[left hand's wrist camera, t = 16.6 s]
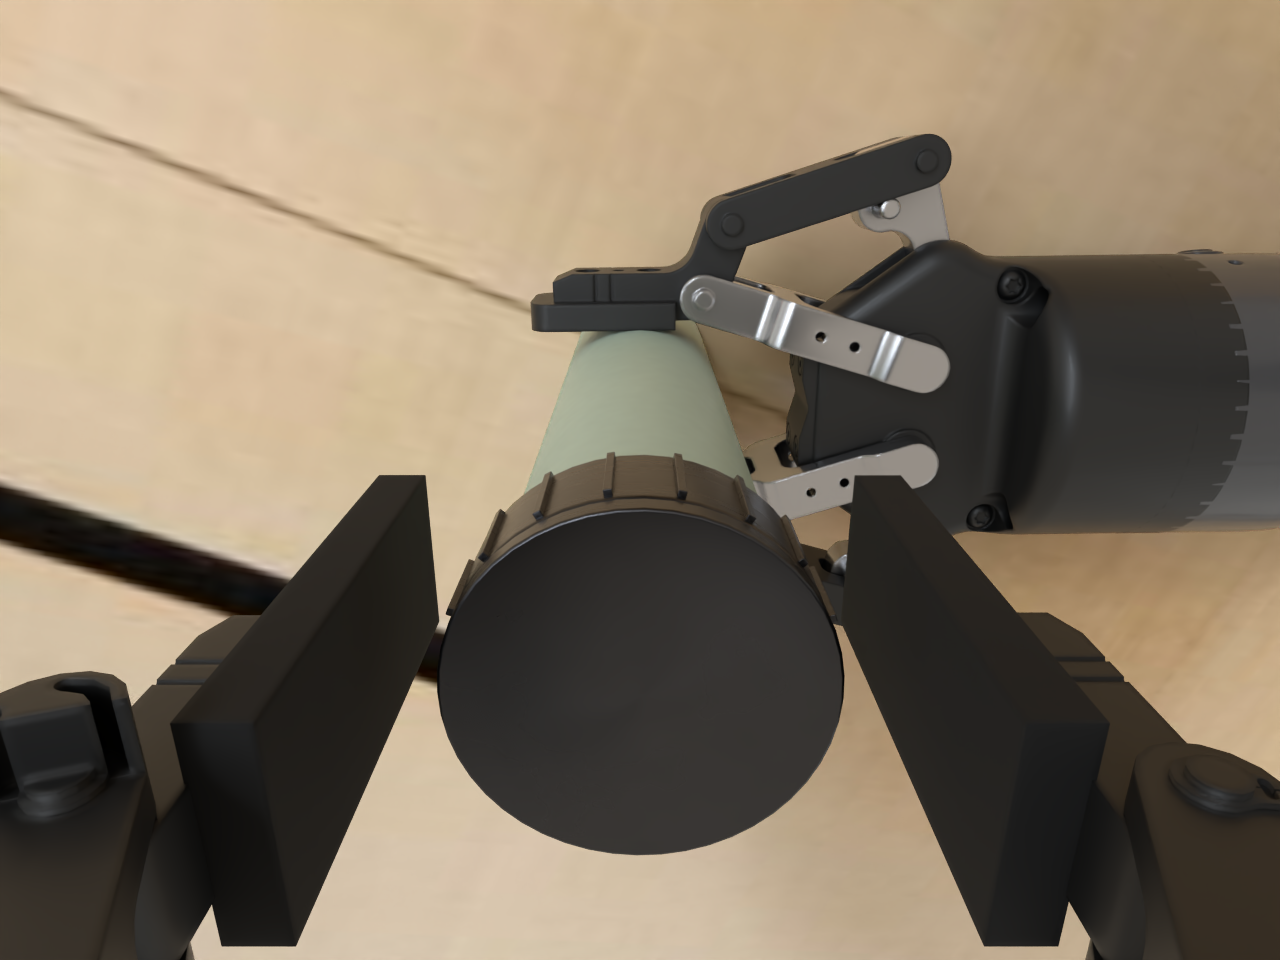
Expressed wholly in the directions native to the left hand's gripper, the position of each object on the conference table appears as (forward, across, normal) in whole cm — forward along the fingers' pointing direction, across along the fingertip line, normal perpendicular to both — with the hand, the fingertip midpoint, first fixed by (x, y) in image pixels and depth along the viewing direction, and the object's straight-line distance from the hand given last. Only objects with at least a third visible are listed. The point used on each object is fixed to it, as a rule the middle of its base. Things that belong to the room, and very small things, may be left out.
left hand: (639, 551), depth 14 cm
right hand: (+10, -3, 0) cm, 10 cm away
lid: (-4, 0, 0) cm, 4 cm away
